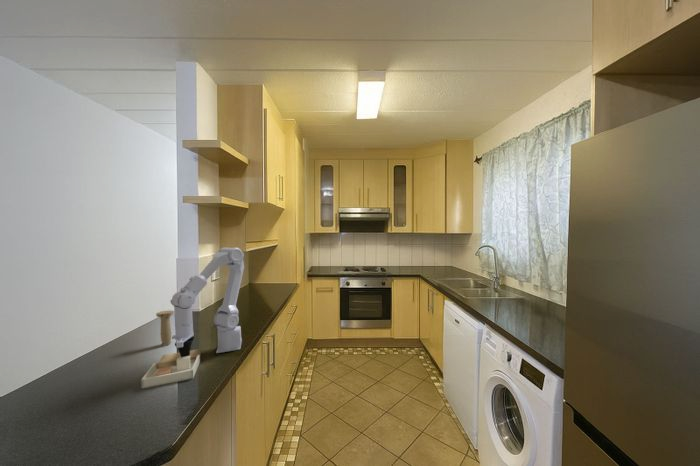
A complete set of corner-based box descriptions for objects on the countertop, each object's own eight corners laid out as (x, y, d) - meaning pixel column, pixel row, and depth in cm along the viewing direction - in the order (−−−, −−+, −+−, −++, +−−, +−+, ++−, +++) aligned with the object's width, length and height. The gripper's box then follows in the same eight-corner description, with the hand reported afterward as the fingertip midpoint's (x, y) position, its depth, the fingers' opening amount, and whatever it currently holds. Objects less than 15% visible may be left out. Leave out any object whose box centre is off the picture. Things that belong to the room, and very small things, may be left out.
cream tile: (190, 355, 99) (188, 358, 97) (190, 366, 99) (189, 368, 97) (178, 357, 97) (176, 360, 95) (178, 368, 97) (176, 370, 95)
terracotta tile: (169, 371, 91) (169, 377, 92) (171, 366, 95) (171, 371, 95) (155, 374, 90) (155, 380, 90) (158, 368, 93) (158, 374, 93)
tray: (200, 362, 102) (199, 354, 102) (193, 378, 91) (192, 370, 91) (154, 370, 97) (154, 362, 97) (141, 388, 86) (140, 380, 86)
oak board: (200, 354, 108) (200, 348, 108) (197, 362, 102) (196, 356, 102) (163, 361, 104) (163, 355, 104) (157, 369, 97) (157, 363, 97)
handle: (171, 346, 118) (169, 313, 117) (155, 347, 117) (154, 314, 116) (176, 341, 122) (175, 310, 122) (161, 342, 121) (160, 311, 121)
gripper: (177, 318, 104) (178, 352, 105) (165, 331, 91) (167, 370, 91) (197, 316, 107) (198, 348, 107) (188, 328, 93) (190, 366, 93)
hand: (185, 358), depth 99 cm, fingers closed
